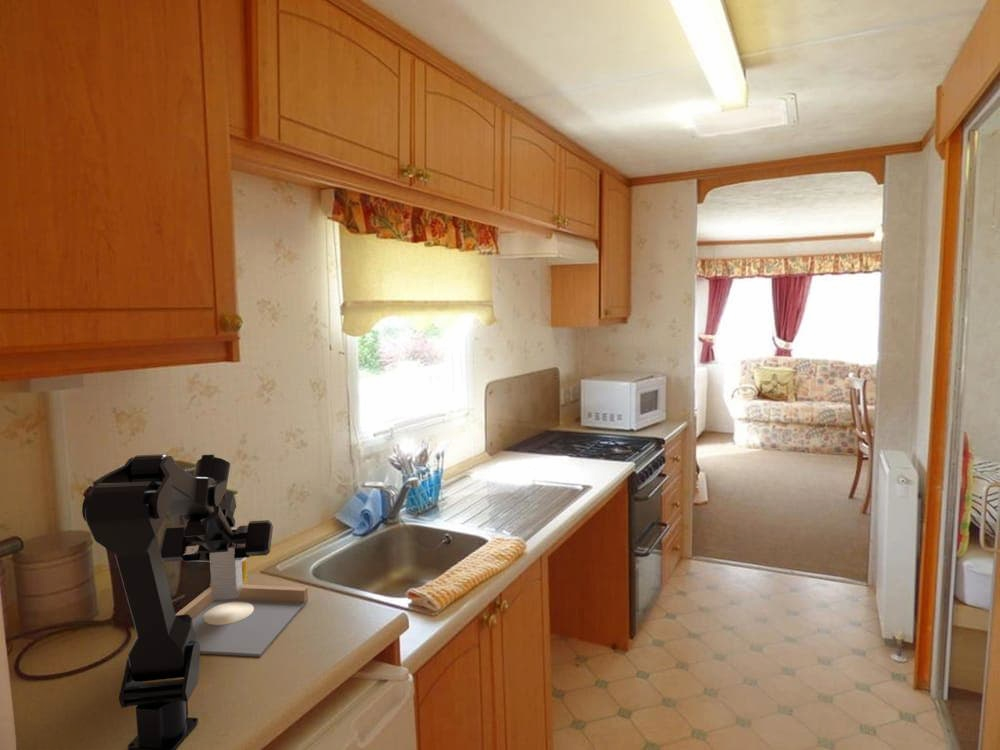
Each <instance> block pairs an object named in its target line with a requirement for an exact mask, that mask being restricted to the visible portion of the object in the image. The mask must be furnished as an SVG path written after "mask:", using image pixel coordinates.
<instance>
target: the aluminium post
mask: <svg viewBox="0 0 1000 750" xmlns="http://www.w3.org/2000/svg"><path fill="white" fill-rule="evenodd" d="M239 526H241V525H240V524H239V523H237V524H235V527H232V528H231V529H232V530H236V529H237V528H238V527H239ZM235 548H236V546H235V547H234V548H228V552H215V553H209V555H210V562H209V567H210V568H209V569H210V571H209V572H210V584H211V585H210V586H211V590H212V600H220V599H233V598H237V597H238V596H239V594H240V592H241V590H242V588H243V580H242V560H237V559H235V558H234V554H235Z"/></svg>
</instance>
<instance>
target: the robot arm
mask: <svg viewBox="0 0 1000 750" xmlns="http://www.w3.org/2000/svg"><path fill="white" fill-rule="evenodd" d="M230 470H231V463H230V461H227V460H225V459H223V458H220V457H217V456H216V457H215V454H214V453H213V454H202V455H201V458H200V459H198V460H197V461H196V463H195V467H194V472H193V475H192V474H191V473H189V472H188V471H187V470H185V469H184V468H182V467H181V466H180V465H178V464H177V463H175V460H174V457H173V456H172V455H167V454H162V453H161V454H138V455H135V456H133V457H130V458H128V459H127V461H126V462H125V464H124V465H122V466H121V467H119V468H117V469H115V470H114V471H112V472H110V473H107V474H105V475H104V476H102V477H100V478H99V479H98V480H97V482H96V483H95V484H94V485H93V486H92V488H90V490H89V491H88V493H86V496H85V497H84V499H83V503H82V505H81V506H82V510H81V514H82V517H83V521H84V522H86V525H87V527H88V530H89V531H90V534H91V536H92V537H93V538H92V539H93V541H95V542H96V543H98V544H99V545H100V546H102V547H103V548H105V549H106V550H108V551H110V552H111V553H113V554H114V557H115V560H116V564H117V568H118V571H119V574H120V577H121V581H122V586H123V589H124V592H125V593H124V594H125V596H126V600H127V603H128V608H129V610H130V614H131V619H132V622H133V626H134V630H135V633H136V637H135V639H134V642H133V643H132V646H131V647H130V650H129V653H128V655H127V659H126V662H125V668H124V672H123V673H124V674H123V678H122V682H121V687H120V691H119V695H118V702H119V704H120V706H121V707H120V708H121V709H125V708H129V707H134V706H135V717H136V718H135V720H136V733H137V734H136V735H137V736H135V737H134V738H133V739H132V740H131V741H130V743H128V744H127V750H175V749H177V747H179V745H181V743H182V742H183V741H184V739H186V737H187V736H188V735H189V734H190V732H191V731H192V730H193V729H194V728H195V727H196V726H197V724H198V723H199V718H198V717H189V703H188V701H189V700H190V698H191V696H192V695H193V693H194V691H195V689H196V687H197V685H198V683H199V676H200V675H199V674H200V673H199V672H200V658H201V657H200V654H201V653H200V645H199V642H198V641H196V638H195V634H196V633H195V631H194V629H193V624H192V618H191V617H190V616H189V615H188V614H187V615H175V614H176V612H175V608H174V604H173V600H172V597H171V592H170V586H169V583H168V579H167V573H166V570H165V566H164V563H169V562H171V563H172V562H181V561H182V560H183V561H184V562H203V563H205V562H206V563H210V555H209V553H215V552H228V548H234V547H235V546H236V548H235V554H234V558H235V559H237V560H242V559H243V558H246V559H247V558H250V557H259V556H267V555H269V554H270V553H271V546H272V540H273V539H272V538H273V530H274V525H273V524H272V522H271V521H270V520H269V519H267V520H250V521H249V522H248V525H240V526H239V527H238V528H237V529H236V530H232V529H231V528H232V527H235V525H236V520H235V517H234V515H235V511H236V508H237V501H236V498H235V493H234V492H233V491H229V490H228V491H227V487H228V480H229V475H230ZM167 512H168V513H169V514H170V515H171V516H182V519H183V521H184V522H185V524H180V525H179V524H178V525H177V524H176V525H168V526H167V527H166V528H165V529H164V530H163V532H162V537H161V542H160V544H159V540H158V533H159V531H160V530H161V527H162V524H163V522H164V521H165V519H166V517H167ZM159 680H160V681H159Z"/></svg>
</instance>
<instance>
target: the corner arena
mask: <svg viewBox="0 0 1000 750" xmlns="http://www.w3.org/2000/svg"><path fill="white" fill-rule="evenodd" d="M308 593H309V591H308V587H307V586H284V585H282V586H281V585H264V584H263V585H261V584H248V585H243V588H242V590H241V592H240V594H239V596H238V597H237V598H233V599H220V600H212V590H211V585H210V586H209V587H208V588H207V589H205V590H204V591H202V593H200V594H199V595H198V596H196V597H195V598H194V599H193V600H191V601H190V602H189V603H188V604H187V605H186V606H184V607H183V608H182V609H180V610H179V611H178V612H177V613H175V615H187V614H188V615H189V616H190V617H191V618H192V624H193V629H194V631H195V633H196V634H195V638H196V641H198V642H199V645H200V654H203V655H204V654H205V655H221V656H222V655H223V656H239V657H240V656H241V657H260V658H261V657H262V656H263V655H264V654H265V653H266V651H267V650H268V649H269V648H270V647H271V645H272V644H273V643H274V642H275V641H276V639H277V638H278V637H279V636H280V635H281V633H282V632H283V631H284V630H285V629H286V628H287V627H288V625H289V624H290V623H291V622H292V621H293V620H294V618H295V617H296V616H297V614H299V613H300V612H301V610H302V609H303V608H304V607H303V606H306V605H307V603H308V602H307V601H309V596H308V595H309V594H308ZM306 602H307V603H306ZM302 607H303V608H302ZM301 608H302V609H301Z"/></svg>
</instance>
